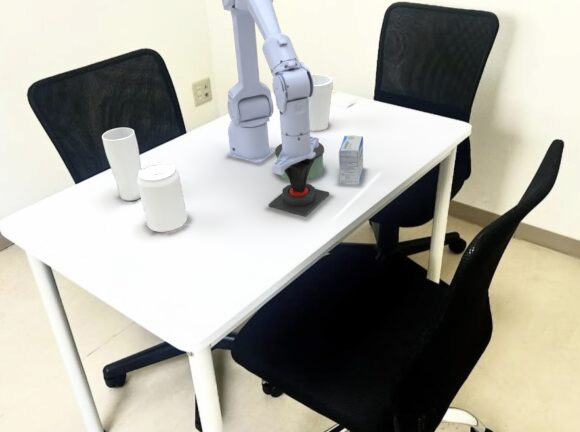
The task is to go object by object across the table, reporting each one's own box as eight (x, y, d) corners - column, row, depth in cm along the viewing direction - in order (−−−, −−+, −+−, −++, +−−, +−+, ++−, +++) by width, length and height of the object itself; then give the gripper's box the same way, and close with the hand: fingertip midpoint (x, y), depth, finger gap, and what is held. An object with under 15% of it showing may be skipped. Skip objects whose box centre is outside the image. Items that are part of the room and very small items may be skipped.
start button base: (268, 209, 117) (267, 196, 115) (293, 187, 124) (293, 176, 122) (305, 219, 113) (305, 206, 111) (329, 197, 120) (329, 184, 118)
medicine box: (359, 186, 123) (359, 150, 118) (339, 185, 124) (338, 149, 119) (363, 169, 130) (363, 135, 125) (344, 168, 130) (343, 134, 126)
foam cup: (302, 119, 157) (300, 74, 150) (334, 119, 156) (334, 74, 149) (297, 133, 149) (294, 86, 142) (331, 133, 148) (330, 86, 141)
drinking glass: (138, 185, 128) (124, 124, 120) (154, 195, 124) (140, 132, 116) (111, 196, 124) (95, 134, 116) (127, 206, 120) (111, 143, 112)
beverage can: (144, 218, 116) (132, 167, 109) (182, 209, 118) (173, 158, 112) (151, 238, 109) (139, 184, 103) (192, 227, 112) (182, 175, 105)
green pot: (269, 177, 129) (267, 156, 126) (293, 159, 136) (292, 138, 133) (308, 186, 124) (307, 165, 121) (330, 167, 131) (330, 146, 128)
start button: (286, 199, 117) (285, 192, 116) (296, 191, 120) (295, 184, 119) (302, 204, 115) (302, 196, 114) (312, 195, 118) (311, 188, 117)
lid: (265, 158, 126) (264, 140, 124) (292, 140, 134) (290, 122, 132) (308, 168, 121) (307, 150, 118) (333, 148, 129) (332, 130, 126)
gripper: (293, 148, 102) (297, 211, 110) (330, 120, 113) (332, 179, 120) (261, 141, 106) (267, 203, 113) (301, 115, 116) (304, 172, 123)
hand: (298, 190), depth 117 cm, fingers closed, pressing on start button
